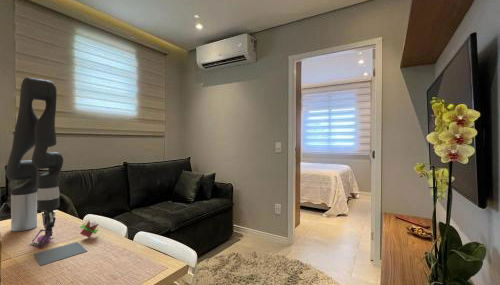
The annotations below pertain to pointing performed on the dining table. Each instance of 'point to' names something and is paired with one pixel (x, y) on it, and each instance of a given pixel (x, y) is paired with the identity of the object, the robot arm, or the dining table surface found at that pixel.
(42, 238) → the game card
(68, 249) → the mat
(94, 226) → the geometric puzzle
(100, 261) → the dining table surface
